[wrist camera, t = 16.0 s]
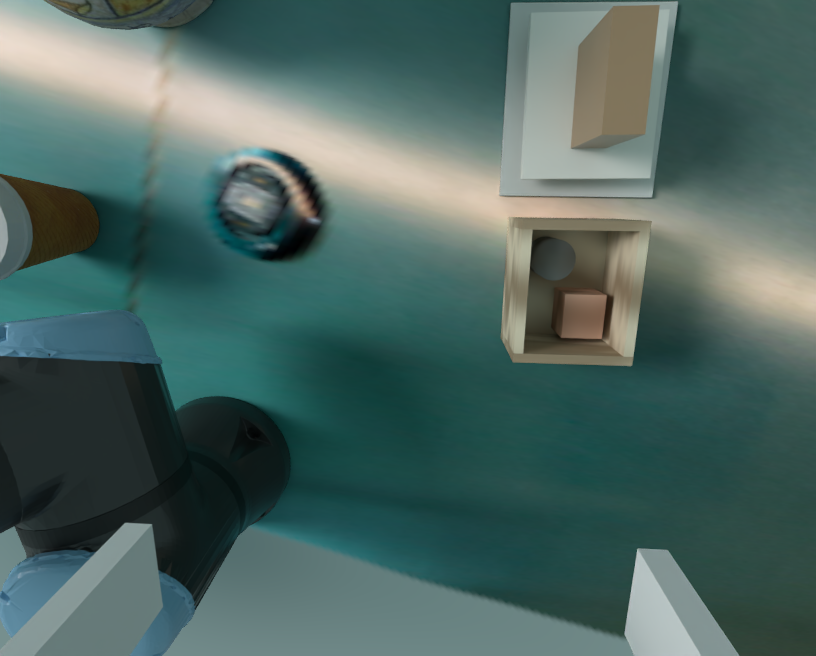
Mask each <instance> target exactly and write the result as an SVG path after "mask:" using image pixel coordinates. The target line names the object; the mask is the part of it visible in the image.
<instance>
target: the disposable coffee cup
mask: <svg viewBox="0 0 816 656" xmlns="http://www.w3.org/2000/svg"><path fill="white" fill-rule="evenodd" d="M98 233H99V219H98V215H97V212H96V210H95V208H94V207H93V205H92V204H91V202H90V201H89V200H88V199H87V198H86V197H85V196H84V195H82V194H81V193H79V192H77V191H75V190H72V189H67V188H62V187H58V186H53V185H49V184H44V183H40V182H35V181H30V180H26V179H22V178H17V177H12V176H7V175H3V174H0V280H2V279H5V278H7V277H8V276H10V275H11V274H13V273H14V272H15V271H17V270H21V269H24V268H27V267H30V266H33V265H37V264H40V263H43V262H47V261H50V260H53V259H56V258H60V257H63V256H66V255H69V254H73V253H76V252H80V251H83V250H85V249H87V248H89V247H90V246H91V245H92V244H93V243H94V242H95V240H96V238H97V235H98Z"/></svg>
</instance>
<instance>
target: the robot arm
mask: <svg viewBox="0 0 816 656" xmlns="http://www.w3.org/2000/svg"><path fill="white" fill-rule="evenodd" d="M161 364H162V360H161V359H160V357H158V356H157V355H156V352H155V349H154V347H153V344H152V341H151V339H150V336H149V333H148V331H147V328H146V326H145V324H144V322H143V321H142V320H141V319H140V318H139V317H138V316H137V315H135V314H133V313H131V312H128V311H125V310H106V311H96V312H87V313H78V314H69V315H60V316H52V317H44V318H35V319H27V320H19V321H11V322H3V323H0V533H2V532H4V531H5V530H8V529H9V528H11V527H13V526H15V528H16V531H17V533H18V535H19V537H20V540H21V542H22V545H23V547H24V549H25V552H26V555H27V559H25V560H24V561H22V562H20V563H19V564H18V565H17V566H15V567H14V568H13V569H12V571H11V572H10V574H9V577H8V579H7V580H6V581H5V583H4V584H3V589H2V591H1V593H0V619H1V622H2V624H3V626H4V628H5V629H6V631H7V633H8V634H9V635H10V637H11V639H10V640H9V641H8V642H7V643H6V644H5V645H4V646H3V647H2V648H1V649H0V656H162V655H163V654H164V653H165V652H166V651H167V650H168V648H169V647H170V646H171V644H172V643H173V641H174V640H175V638H176V637H177V635H178V634H179V632H180V631H181V629H182V628H183V627H185V626H186V625H187V623H188V622H189V621H190V620H191V619H192V617H193V615H194V612H195V610H196V608H197V606H198V605H199V603H200V601H201V599H202V598H203V596H204V594H205V592H206V591H207V589H208V587H209V586H210V584H211V582H212V580H213V579H214V577H215V575H216V573H217V572H218V570H219V568H220V567H221V565H222V563H223V561H224V559H225V558H226V556H227V554H228V553H229V551H230V549H231V547H232V546H233V544H234V542H235V540H236V539H237V537H238V535H239V534H240V533H242V532H243V531H244V530H246V528H247V527H248V526H249V525H252V524H254V523H255V522H257V521H259V520H260V519H261V518H263V517H264V516H265V515H267V514H268V513H269V512H270V511H271V509H272V508H273V507H274V506H275V505H276V503H277V502H278V500H279V498H280V496H281V494H282V493H283V491H284V489H285V487H286V485H287V482H288V479H289V474H290V455H289V450H288V447H287V444H286V442H285V439H284V437H283V435H282V434H281V432H280V430H279V429H278V428H277V426H276V425H275V424H274V423H273V422H272V421H271V419H270V418H268V417H267V416H266V415H265V414H264V413H263V412H261V411H260V410H258V409H257V408H255V407H254V406H252V405H250V404H248V403H245V402H243V401H240V400H237V399H233V398H228V397H204V398H200V399H196V400H193V401H191V402H189V403H187V404H185V405H183V406H182V407H180V408H179V409H177V410H176V411H175V409H174V406H173V403H172V399H171V396H170V393H169V390H168V387H167V383H166V380H165V377H164V374H163V370H162V367H161ZM625 636H626V638H627V641H628V643H629V645H630V647H631V649H632V652H633V654H634V656H739V655H738V653H737V652H736V650H735V649H734V647H733V646H732V644H731V643H730V641H729V640H728V638H727V637H726V635H725V634H724V632H723V631H722V630H721V628H720V627H719V625H718V624H717V622H716V621H715V619H714V618H713V616H712V615H711V613H710V612H709V610H708V609H707V607H706V606H705V604H704V603H703V601H702V600H701V599H700V597H699V596H698V594H697V593H696V591H695V590H694V588H693V587H692V585H691V584H690V582H689V581H688V579H687V578H686V576H685V575H684V573H683V572H682V571H681V569H680V568H679V566H678V565H677V563H676V562H675V560H674V559H673V557H672V556H671V554H670V553H669V551H668V550H658V549H637V556H636V562H635V569H634V575H633V582H632V589H631V595H630V602H629V608H628V615H627V621H626V628H625Z"/></svg>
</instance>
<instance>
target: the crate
mask: <svg viewBox="0 0 816 656" xmlns="http://www.w3.org/2000/svg"><path fill="white" fill-rule="evenodd" d="M651 222H652V221H641V220H624V219H588V218H524V217H509V218H508V234H507V250H506V265H505V281H504V297H503V312H502V328H501V339H502V341H503V343H504V345H505V347H506V349H507V351H508V353H509V355H510V357H511V359H512V361H513V362H520V363H552V364H584V365H617V366H632V363H633V355H634V348H635V341H636V333H637V326H638V318H639V311H640V304H641V296H642V289H643V281H644V274H645V267H646V259H647V252H648V245H649V237H650V230H651Z"/></svg>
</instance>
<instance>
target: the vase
mask: <svg viewBox="0 0 816 656" xmlns="http://www.w3.org/2000/svg"><path fill="white" fill-rule="evenodd" d="M44 1H46V2H47V3H49V4H50V5H52V6H54V7H56V8H57V9H59V10H61V11H62V12H64V13H66V14H68V15H70V16H72V17H74V18H77V19H79V20H82V21H84V22H87V23H89V24H92V25H94V26H98V27H102V28H111V29H125V30H131V29H138V28H145V27H150V26H158V27H174V26H179V25H182V24H186V23H188V22H189V21H191V20H193V19H195V18H196V17H197V16H199V15H200V14H201V13H203V12H204V11H205V10H206V9H207V8H208V7H209V6H210V5H211V3H212V2H213V0H44Z"/></svg>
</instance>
